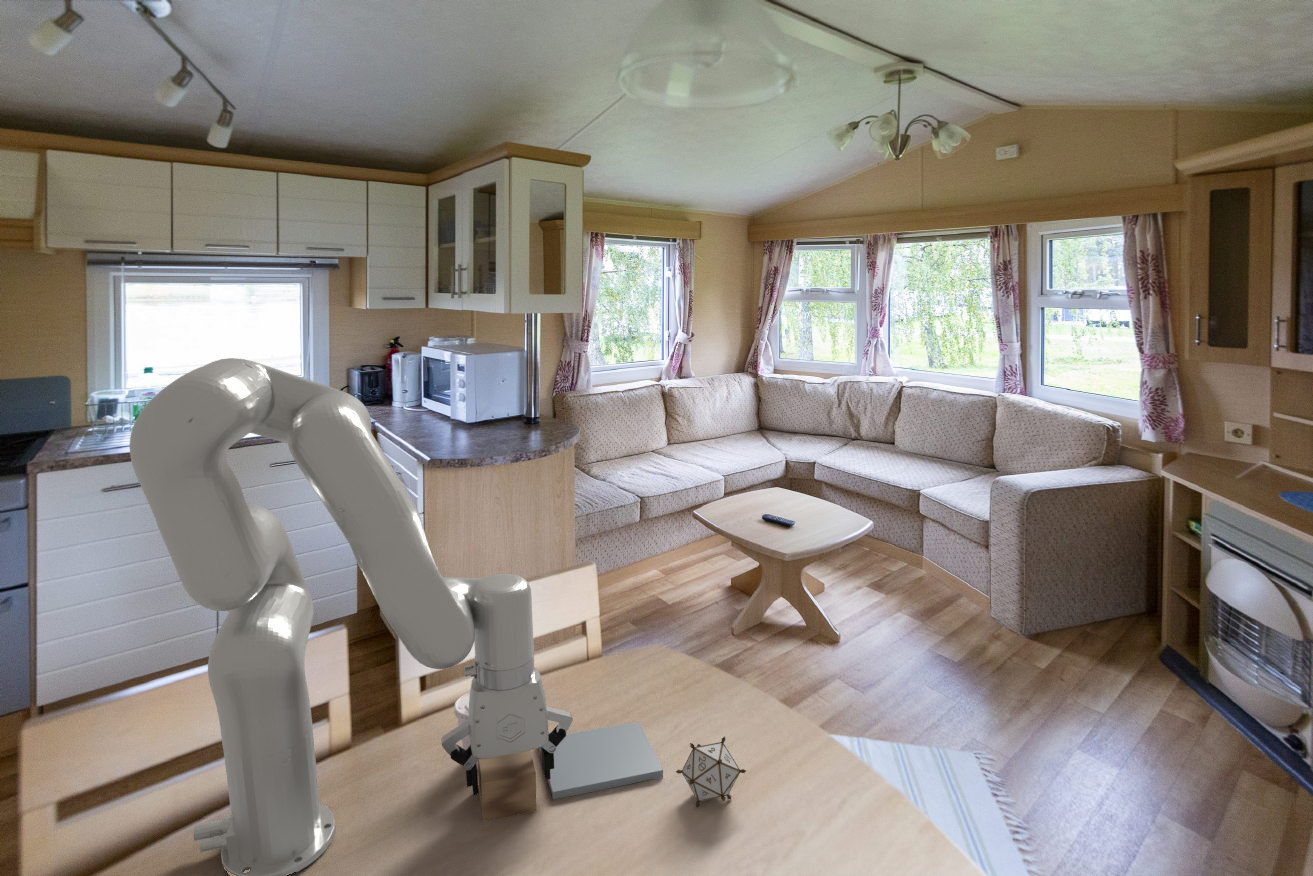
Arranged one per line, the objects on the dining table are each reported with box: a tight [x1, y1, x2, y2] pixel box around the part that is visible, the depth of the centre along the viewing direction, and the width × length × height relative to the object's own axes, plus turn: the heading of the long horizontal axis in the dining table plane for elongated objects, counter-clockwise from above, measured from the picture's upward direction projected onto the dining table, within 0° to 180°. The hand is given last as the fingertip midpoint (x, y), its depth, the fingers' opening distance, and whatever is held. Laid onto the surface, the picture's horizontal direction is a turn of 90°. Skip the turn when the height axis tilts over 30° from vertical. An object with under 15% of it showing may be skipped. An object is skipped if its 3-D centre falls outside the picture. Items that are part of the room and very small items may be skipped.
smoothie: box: [453, 677, 478, 771], centre depth 105 cm, size 6×6×14 cm
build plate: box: [538, 721, 664, 800], centre depth 107 cm, size 16×12×1 cm
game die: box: [675, 735, 747, 808], centre depth 100 cm, size 9×8×10 cm
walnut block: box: [477, 750, 537, 823], centre depth 98 cm, size 7×7×6 cm
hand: (511, 780), depth 99 cm, fingers open, 9 cm apart
